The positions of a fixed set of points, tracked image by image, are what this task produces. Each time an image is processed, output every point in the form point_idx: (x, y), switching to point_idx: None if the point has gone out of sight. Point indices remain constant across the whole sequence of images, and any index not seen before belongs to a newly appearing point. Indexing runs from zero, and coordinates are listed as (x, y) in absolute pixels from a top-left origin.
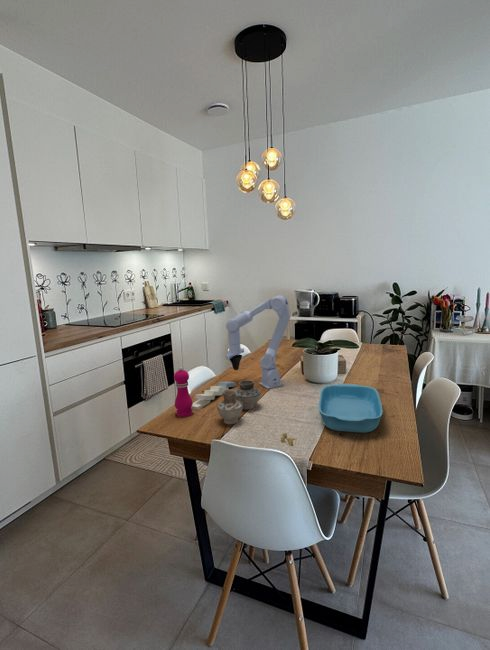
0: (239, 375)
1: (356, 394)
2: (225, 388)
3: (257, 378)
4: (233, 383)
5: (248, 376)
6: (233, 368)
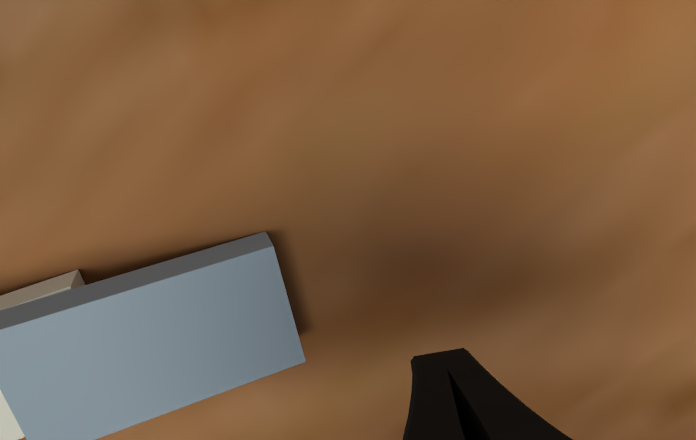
0: (685, 99)
1: None
2: None
3: (655, 374)
4: (241, 379)
5: (688, 239)
6: (414, 374)
